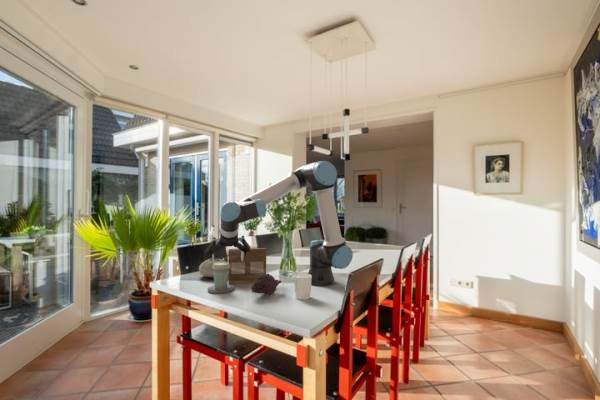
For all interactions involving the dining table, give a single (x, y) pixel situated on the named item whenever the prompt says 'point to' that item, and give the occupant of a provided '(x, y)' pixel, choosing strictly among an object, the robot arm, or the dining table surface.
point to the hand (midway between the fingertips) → (227, 259)
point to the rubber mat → (222, 291)
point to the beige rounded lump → (208, 267)
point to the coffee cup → (221, 274)
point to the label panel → (246, 265)
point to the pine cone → (265, 284)
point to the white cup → (303, 286)
